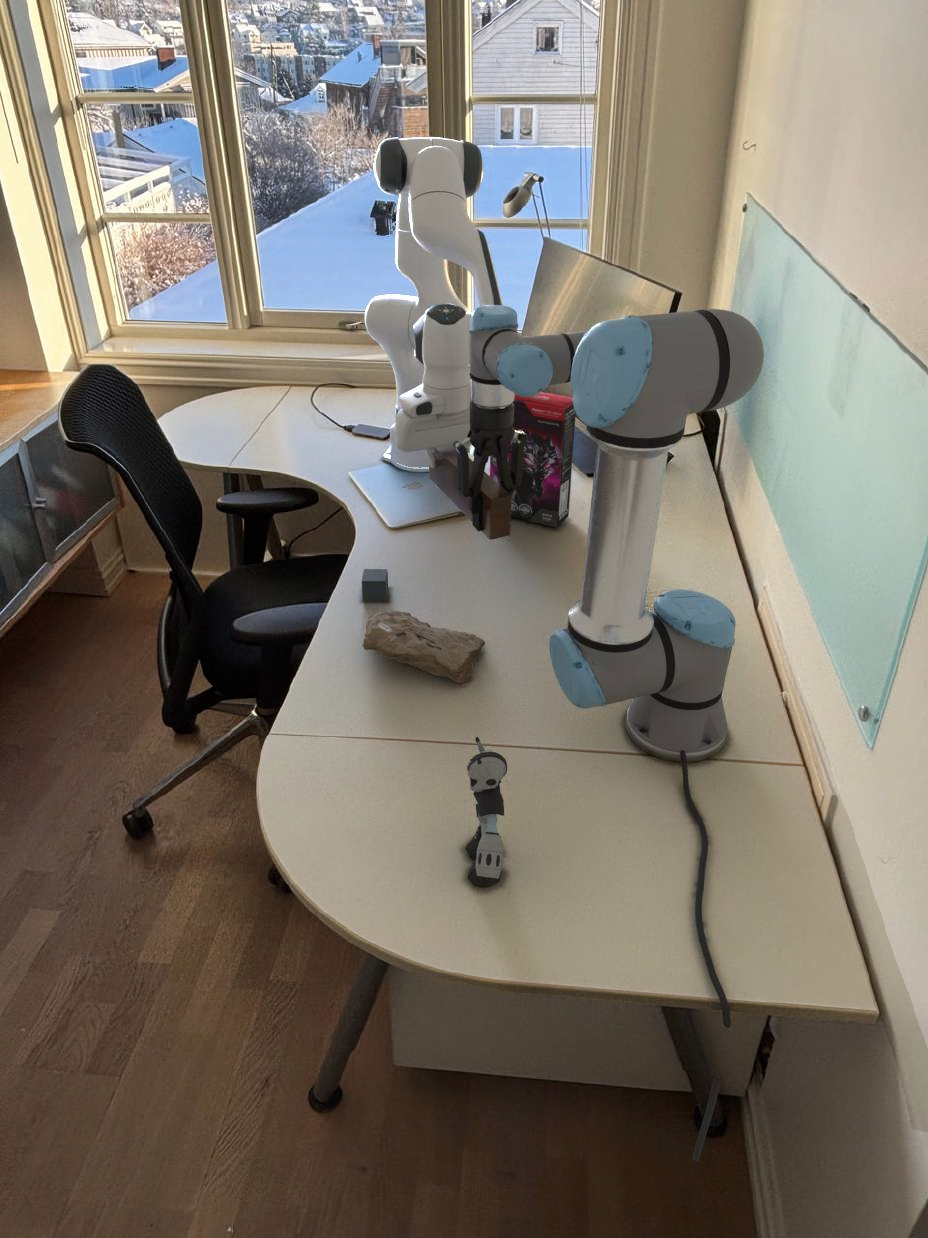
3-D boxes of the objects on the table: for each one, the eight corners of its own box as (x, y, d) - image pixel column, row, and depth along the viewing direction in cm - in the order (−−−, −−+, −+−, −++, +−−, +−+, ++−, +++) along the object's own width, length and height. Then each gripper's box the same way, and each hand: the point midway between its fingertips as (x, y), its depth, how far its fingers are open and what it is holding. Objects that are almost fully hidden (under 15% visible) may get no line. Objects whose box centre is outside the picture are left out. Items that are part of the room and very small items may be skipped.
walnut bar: (510, 535, 165) (511, 495, 161) (490, 540, 164) (491, 499, 159) (447, 475, 186) (447, 438, 182) (429, 478, 185) (428, 441, 181)
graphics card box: (486, 512, 203) (488, 393, 188) (499, 500, 208) (503, 382, 193) (557, 530, 197) (566, 407, 181) (570, 517, 202) (579, 396, 187)
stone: (339, 657, 153) (345, 625, 150) (371, 626, 166) (378, 596, 164) (457, 699, 149) (466, 667, 147) (481, 664, 163) (489, 634, 160)
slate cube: (386, 601, 173) (385, 581, 171) (362, 601, 173) (361, 581, 171) (388, 589, 177) (387, 568, 174) (365, 588, 177) (363, 568, 174)
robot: (509, 924, 113) (515, 806, 101) (469, 925, 112) (471, 808, 101) (496, 807, 129) (501, 695, 118) (462, 808, 129) (463, 696, 118)
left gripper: (489, 383, 178) (487, 449, 186) (390, 398, 171) (392, 467, 179) (503, 393, 174) (501, 461, 181) (402, 409, 166) (404, 479, 174)
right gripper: (526, 387, 161) (520, 508, 174) (436, 401, 155) (437, 525, 168) (547, 401, 155) (540, 525, 168) (454, 417, 149) (454, 543, 162)
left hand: (446, 464), depth 180 cm, fingers closed on walnut bar, 4 cm apart
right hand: (489, 525), depth 168 cm, fingers closed on walnut bar, 4 cm apart
